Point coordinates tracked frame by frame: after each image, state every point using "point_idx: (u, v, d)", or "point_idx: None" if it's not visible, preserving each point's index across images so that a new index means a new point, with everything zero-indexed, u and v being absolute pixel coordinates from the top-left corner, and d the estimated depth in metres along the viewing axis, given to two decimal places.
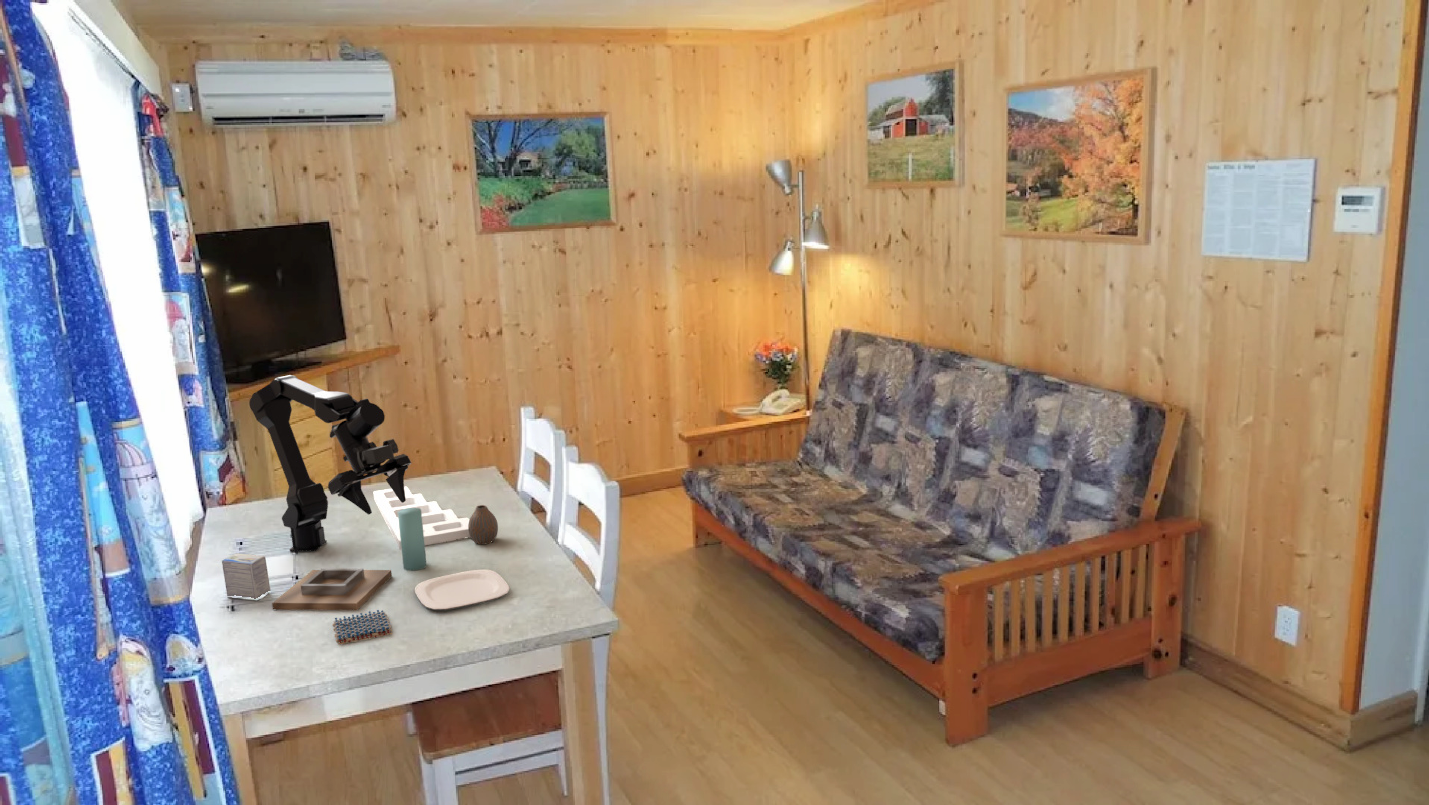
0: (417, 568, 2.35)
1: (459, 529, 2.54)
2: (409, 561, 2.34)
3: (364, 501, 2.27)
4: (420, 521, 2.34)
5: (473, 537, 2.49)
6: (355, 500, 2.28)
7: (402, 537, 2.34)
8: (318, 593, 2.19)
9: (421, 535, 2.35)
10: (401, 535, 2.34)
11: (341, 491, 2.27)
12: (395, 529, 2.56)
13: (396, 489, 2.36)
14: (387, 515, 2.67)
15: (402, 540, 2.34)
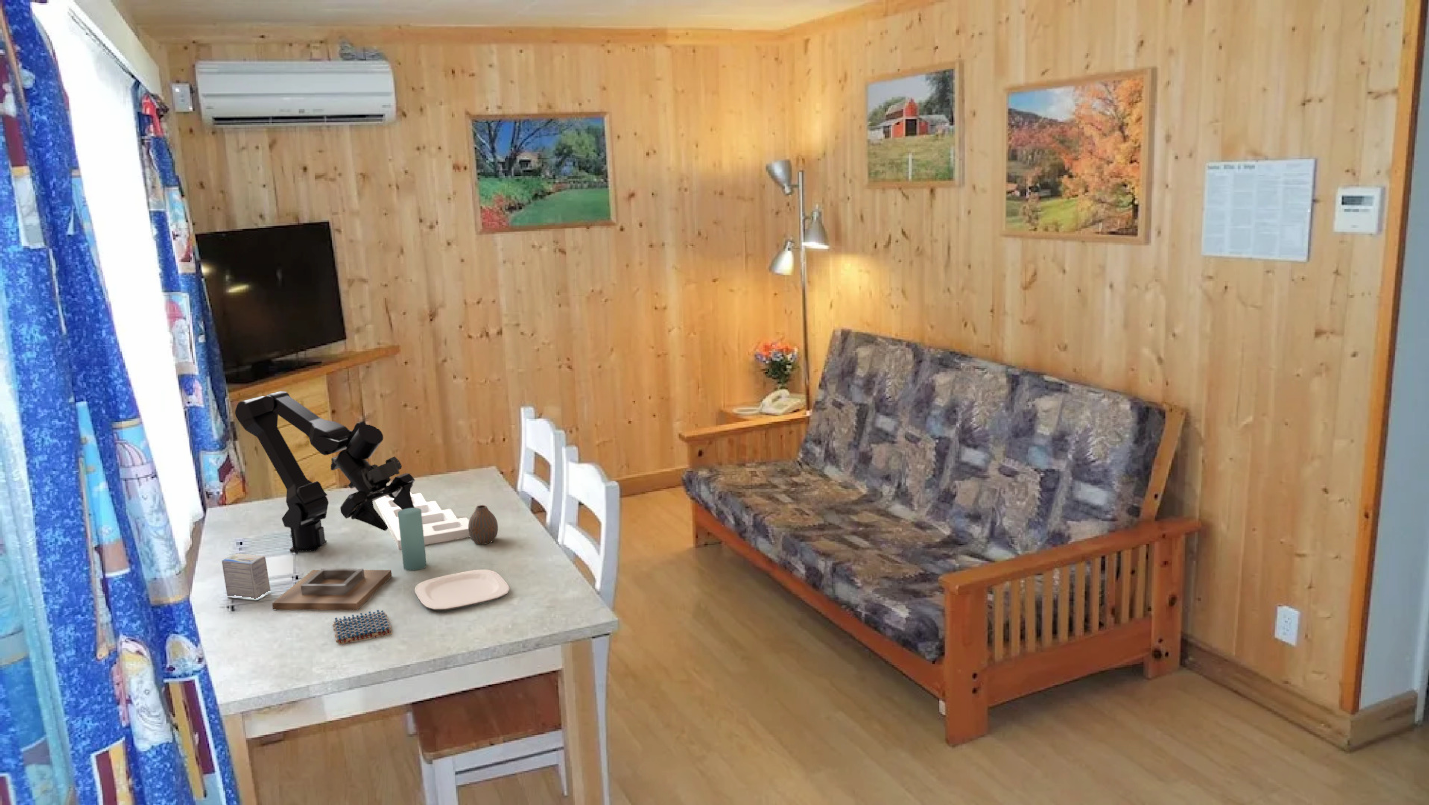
0: (417, 568, 2.35)
1: (458, 529, 2.55)
2: (409, 561, 2.34)
3: (379, 518, 2.32)
4: (420, 521, 2.34)
5: (473, 537, 2.49)
6: (369, 520, 2.32)
7: (402, 537, 2.34)
8: (318, 593, 2.19)
9: (421, 535, 2.35)
10: (401, 535, 2.34)
11: (354, 512, 2.31)
12: (395, 529, 2.56)
13: (406, 506, 2.41)
14: (386, 515, 2.67)
15: (402, 540, 2.34)
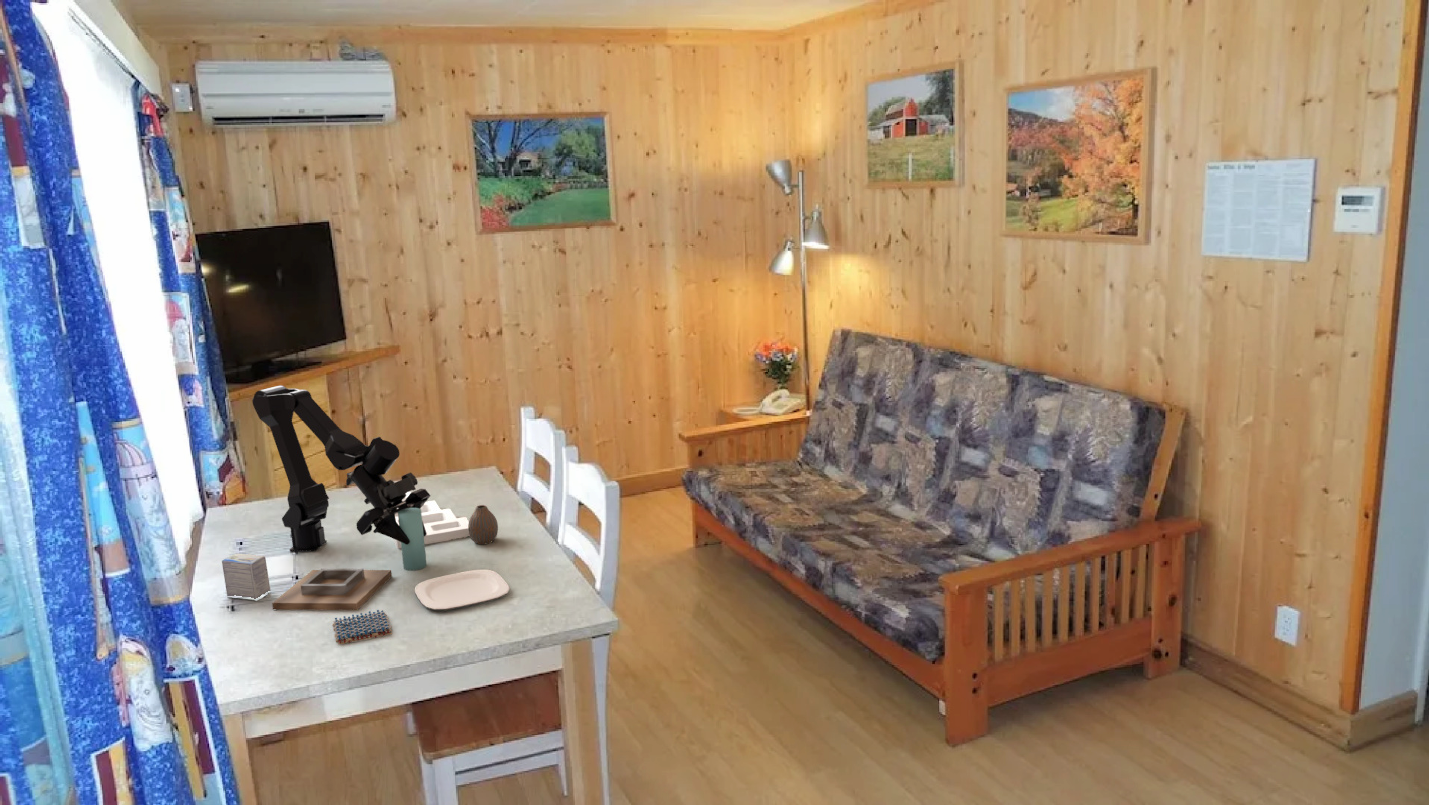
0: (417, 568, 2.35)
1: (457, 529, 2.55)
2: (409, 560, 2.34)
3: (401, 532, 2.32)
4: (420, 521, 2.34)
5: (473, 537, 2.49)
6: (391, 533, 2.33)
7: None
8: (318, 593, 2.19)
9: (421, 535, 2.35)
10: None
11: (377, 526, 2.31)
12: None
13: None
14: None
15: None
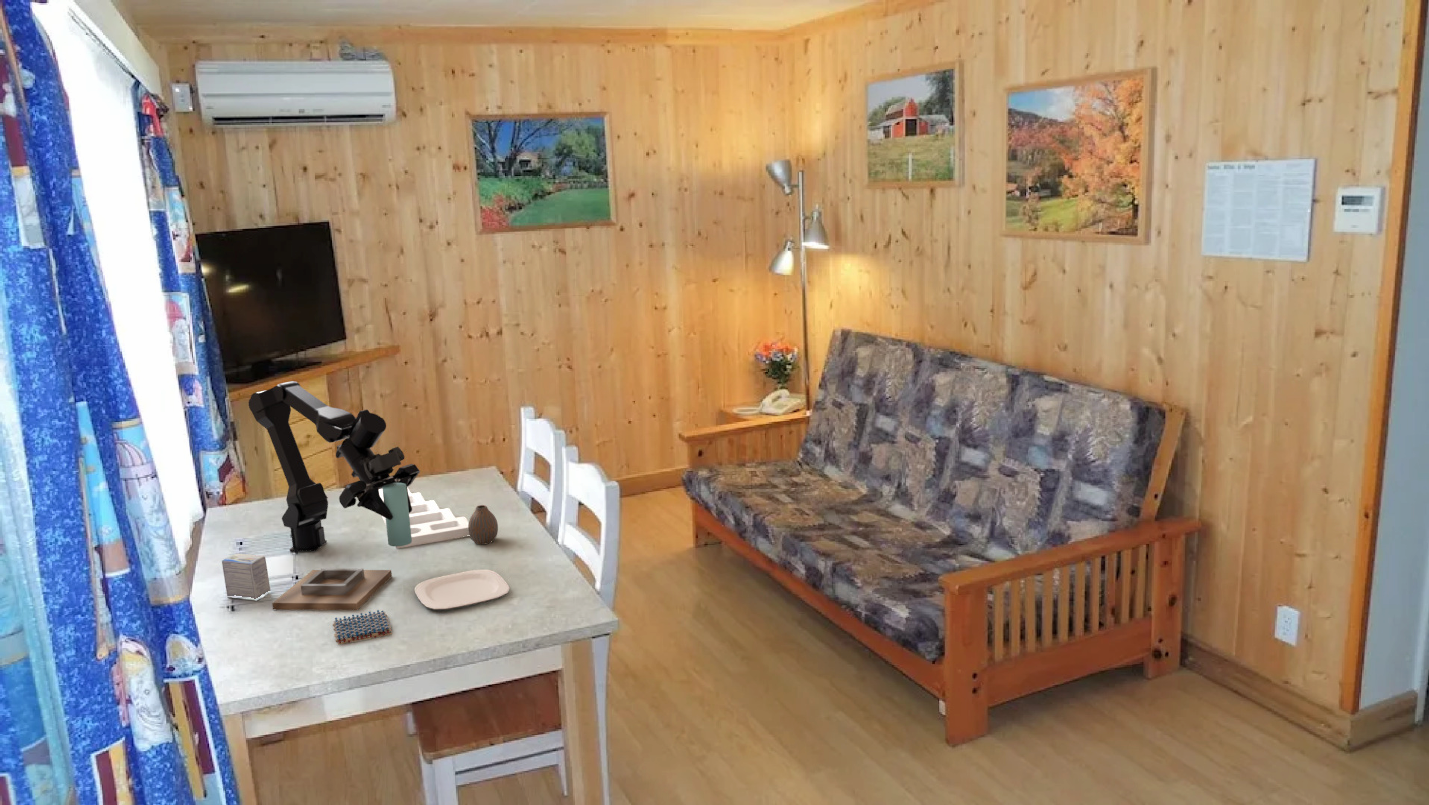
0: (401, 544, 2.31)
1: (456, 528, 2.55)
2: (393, 536, 2.30)
3: (384, 507, 2.28)
4: (404, 496, 2.30)
5: (473, 537, 2.49)
6: (375, 508, 2.29)
7: None
8: (318, 593, 2.19)
9: (405, 511, 2.30)
10: None
11: (360, 500, 2.28)
12: None
13: None
14: None
15: None
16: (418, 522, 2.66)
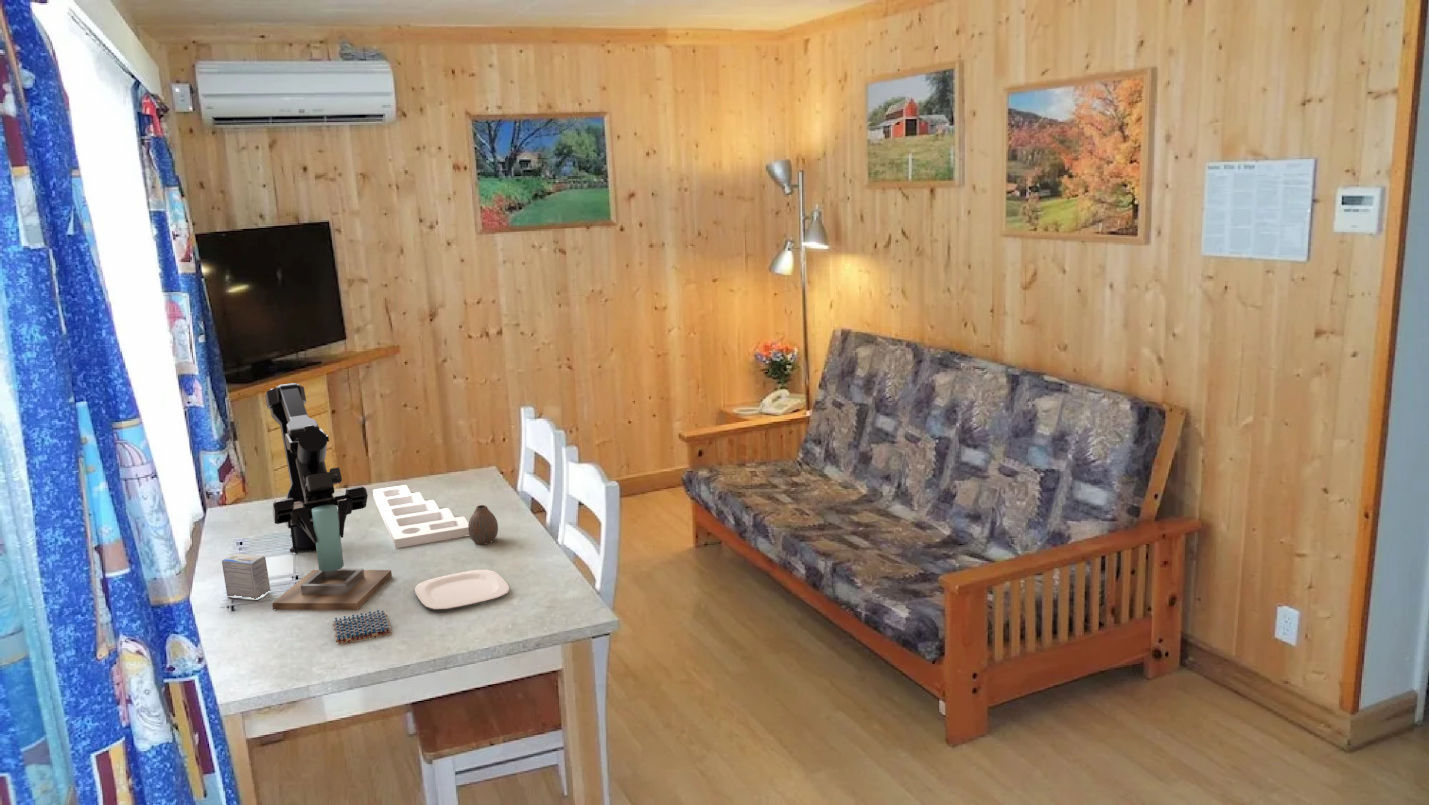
0: (325, 570, 2.20)
1: (455, 528, 2.55)
2: (319, 560, 2.21)
3: (309, 528, 2.19)
4: (330, 521, 2.19)
5: (473, 537, 2.49)
6: (305, 528, 2.21)
7: None
8: (318, 593, 2.19)
9: (331, 536, 2.19)
10: None
11: (291, 518, 2.21)
12: (392, 527, 2.57)
13: None
14: (385, 513, 2.68)
15: None
16: (417, 522, 2.66)
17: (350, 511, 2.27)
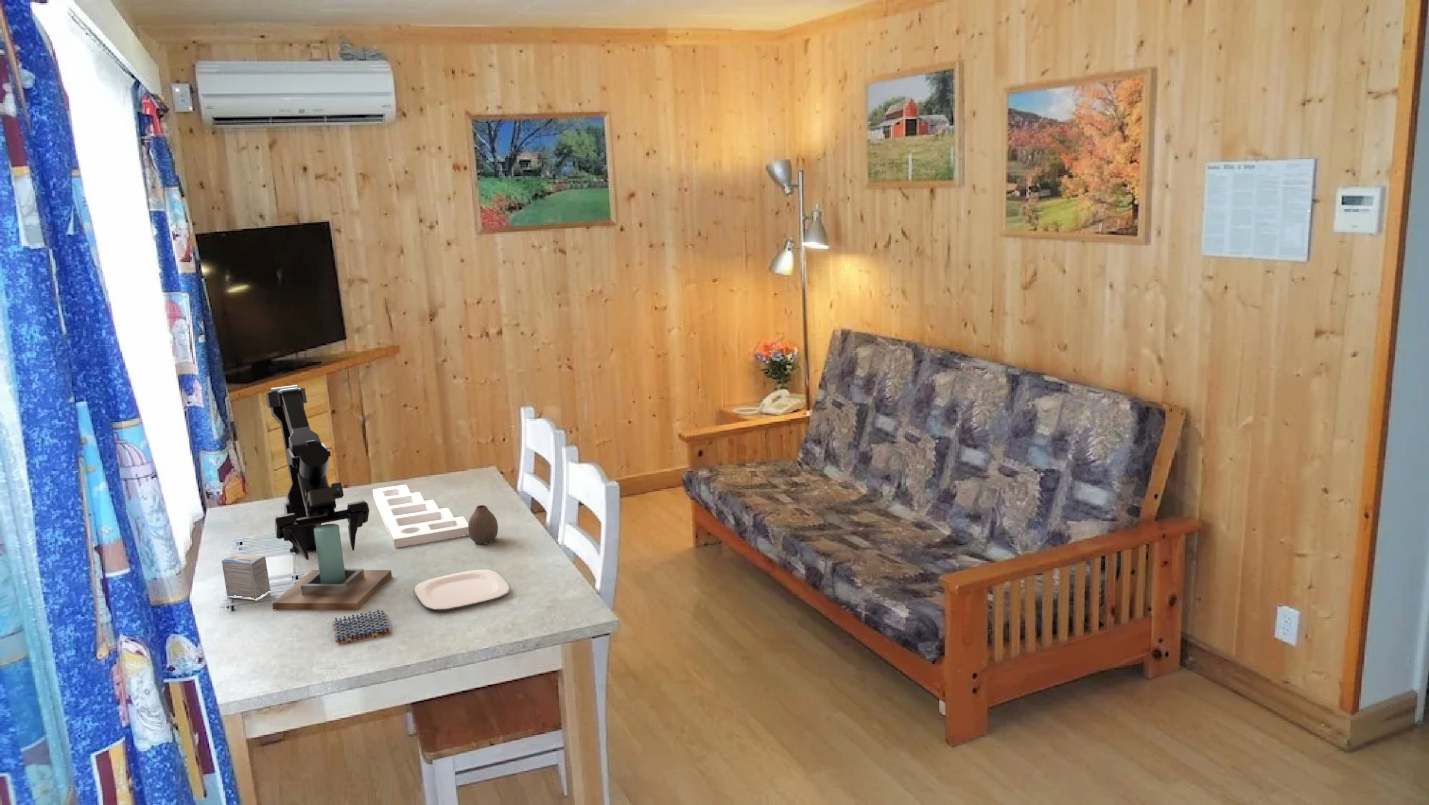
0: None
1: (454, 528, 2.55)
2: (321, 579, 2.21)
3: (301, 545, 2.19)
4: (332, 540, 2.20)
5: (473, 537, 2.49)
6: (297, 545, 2.21)
7: None
8: (318, 593, 2.19)
9: (333, 555, 2.20)
10: None
11: (283, 535, 2.21)
12: (391, 527, 2.57)
13: (350, 537, 2.25)
14: (384, 513, 2.68)
15: None
16: (417, 521, 2.67)
17: (361, 524, 2.29)
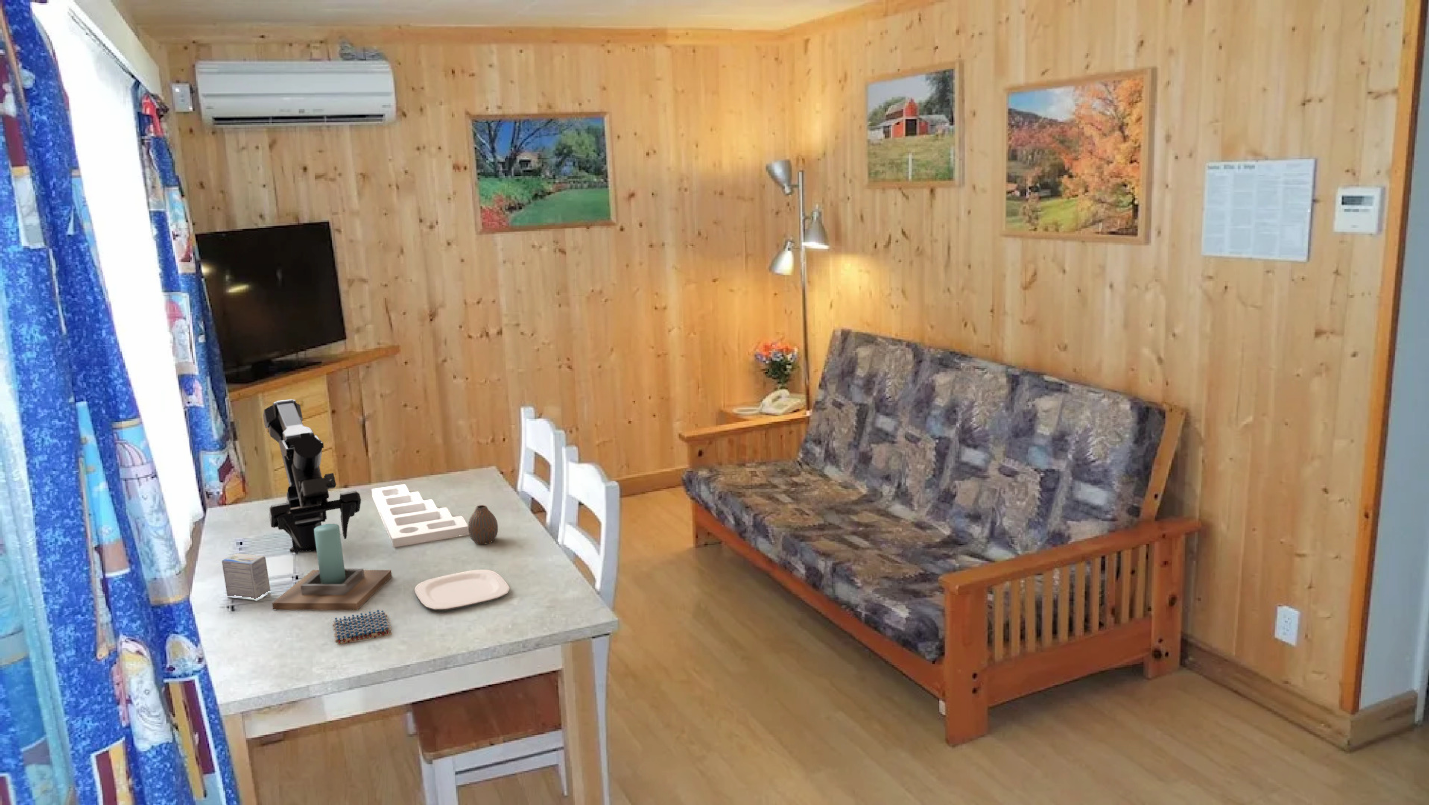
0: None
1: (452, 527, 2.56)
2: (321, 579, 2.21)
3: (295, 534, 2.26)
4: (332, 540, 2.19)
5: (473, 537, 2.49)
6: (291, 533, 2.28)
7: (317, 553, 2.21)
8: (318, 593, 2.19)
9: (333, 555, 2.20)
10: None
11: (278, 523, 2.28)
12: (390, 527, 2.58)
13: (342, 526, 2.32)
14: (383, 513, 2.69)
15: (317, 556, 2.22)
16: (416, 521, 2.67)
17: (353, 513, 2.36)
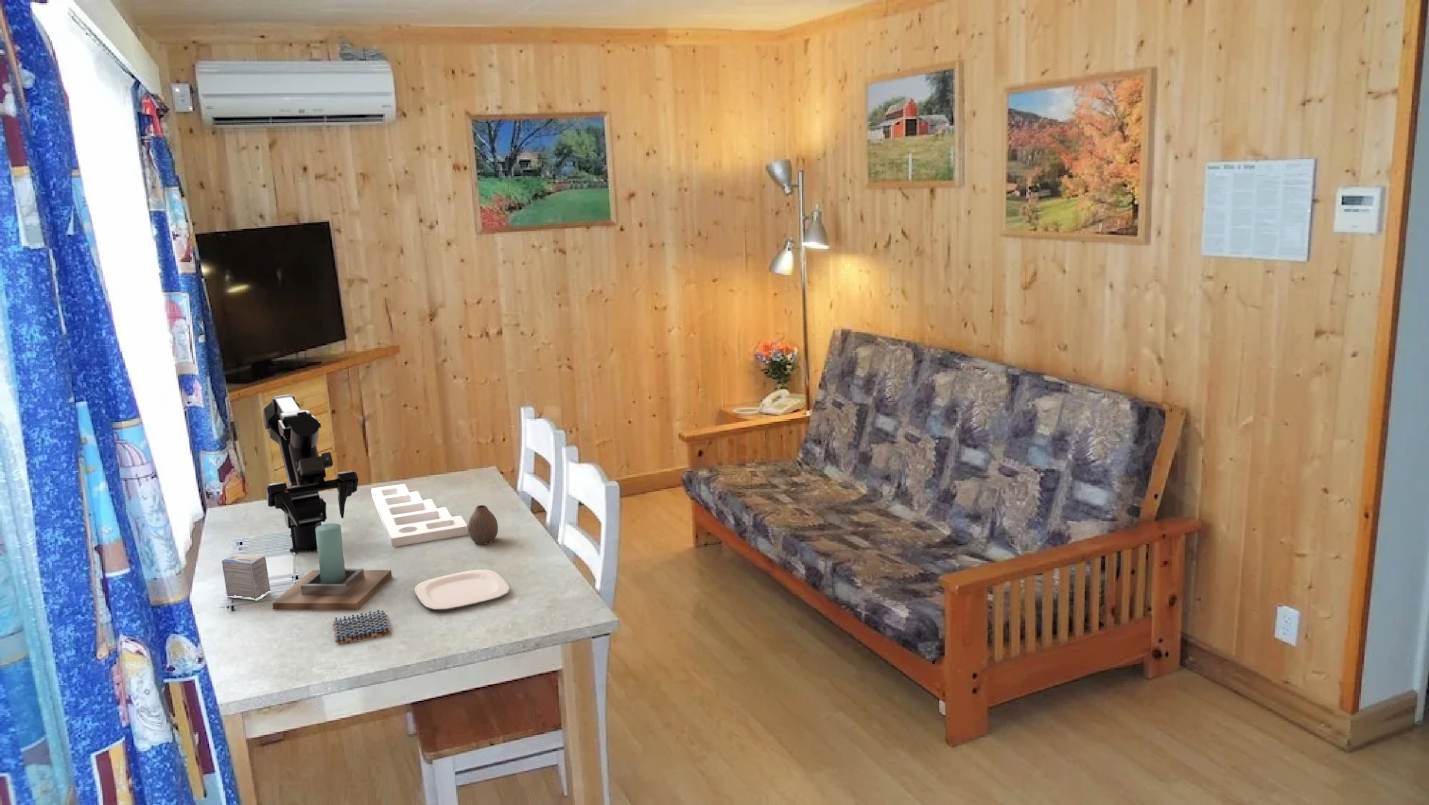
0: None
1: (451, 527, 2.56)
2: (321, 579, 2.21)
3: (292, 512, 2.26)
4: (334, 540, 2.20)
5: (473, 537, 2.49)
6: (288, 512, 2.28)
7: None
8: (318, 593, 2.19)
9: (334, 555, 2.20)
10: None
11: (275, 502, 2.28)
12: (389, 526, 2.58)
13: (339, 505, 2.32)
14: (382, 512, 2.69)
15: (318, 556, 2.22)
16: (415, 521, 2.67)
17: (350, 493, 2.36)
